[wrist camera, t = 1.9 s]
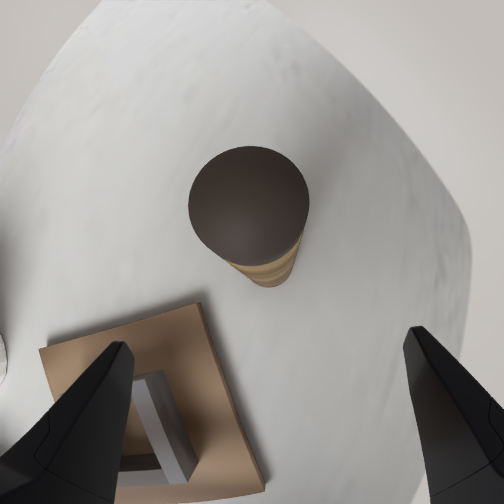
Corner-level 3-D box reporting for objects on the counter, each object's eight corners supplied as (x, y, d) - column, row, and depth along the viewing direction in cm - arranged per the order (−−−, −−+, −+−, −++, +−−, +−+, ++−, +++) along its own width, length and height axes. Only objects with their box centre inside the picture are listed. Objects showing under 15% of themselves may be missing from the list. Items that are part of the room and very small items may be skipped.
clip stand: (265, 484, 18) (261, 515, 14) (106, 498, 19) (84, 519, 15) (200, 302, 21) (181, 302, 17) (46, 347, 21) (13, 352, 17)
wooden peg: (298, 278, 20) (326, 237, 8) (253, 293, 20) (207, 278, 8) (283, 234, 21) (284, 132, 8) (239, 249, 21) (176, 169, 8)
